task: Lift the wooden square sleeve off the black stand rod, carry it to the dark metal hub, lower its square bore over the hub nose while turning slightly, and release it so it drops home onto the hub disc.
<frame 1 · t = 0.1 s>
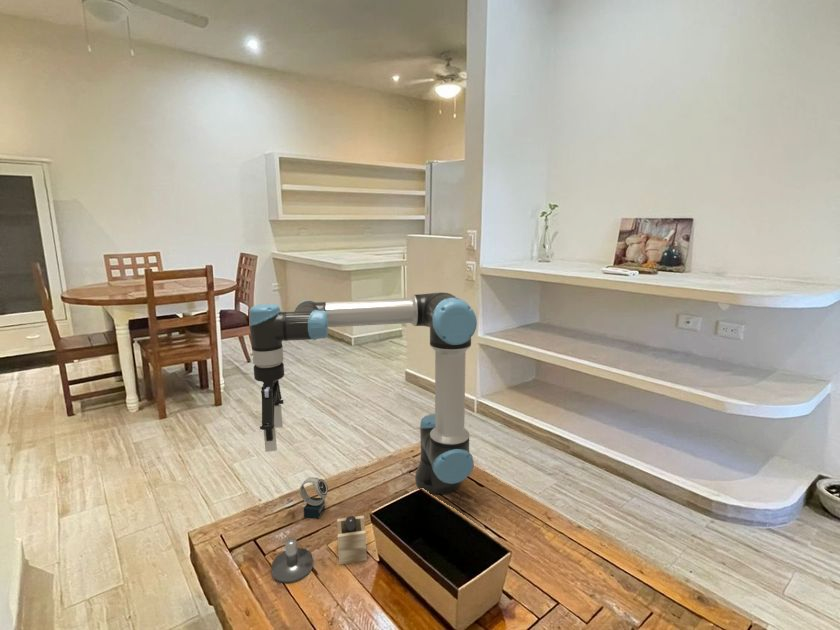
hand: (274, 438, 120), 28 cm above the table, fingers open, 13 cm apart
hub: (292, 567, 111), on the table
stand: (352, 552, 116), on the table
wooden square sleeve: (352, 552, 116), on the table
watch: (315, 513, 132), on the table
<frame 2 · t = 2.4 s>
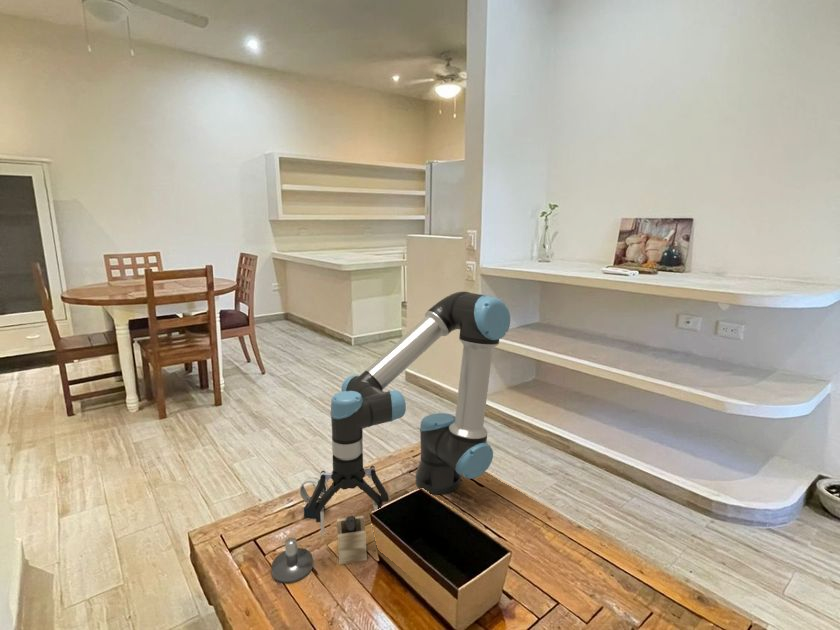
hand: (349, 528, 114), 7 cm above the table, fingers open, 13 cm apart
nothing on the table moved.
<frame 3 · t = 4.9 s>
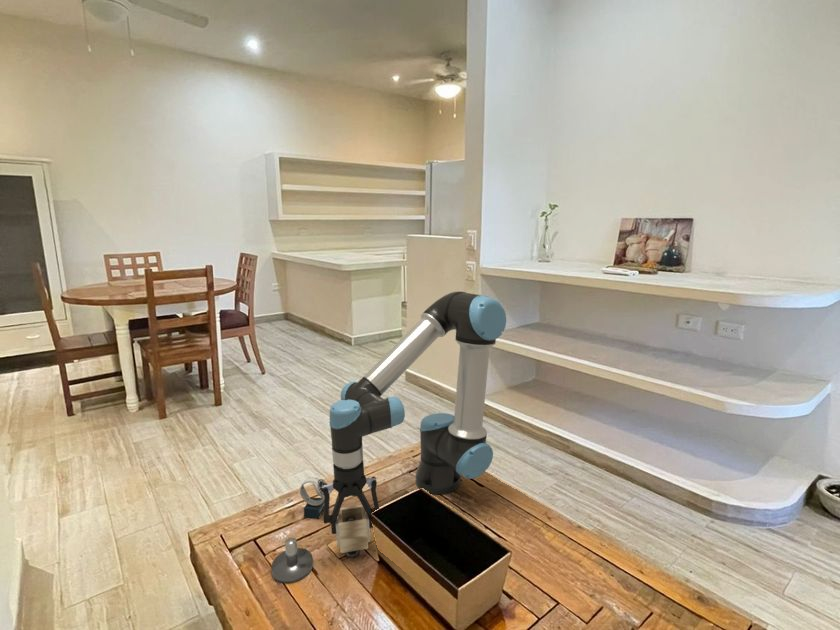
hand: (353, 540, 116), 3 cm above the table, fingers closed on wooden square sleeve, 7 cm apart
wooden square sleeve: (353, 541, 116), point 3 cm above the table, touching gripper
everything else where it was.
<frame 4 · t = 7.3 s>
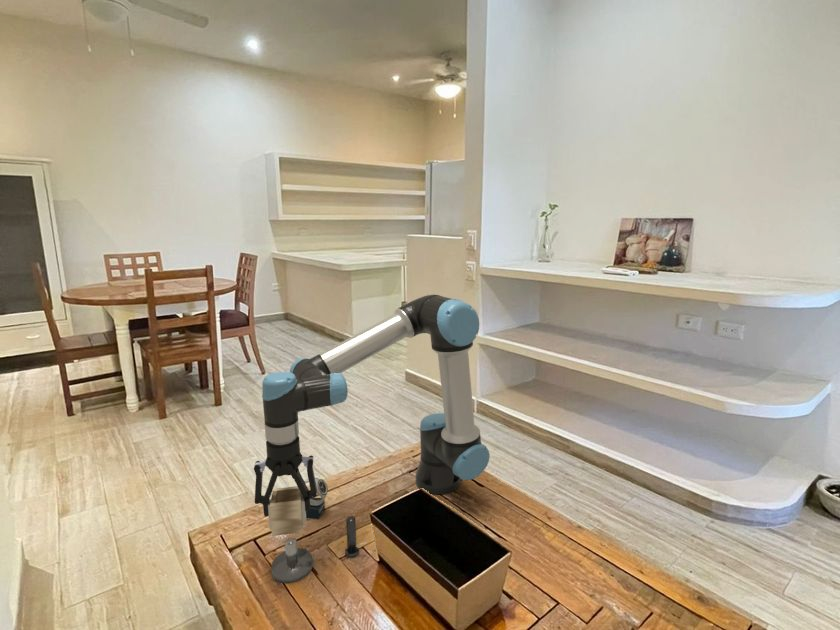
hand: (288, 523, 108), 13 cm above the table, fingers closed on wooden square sleeve, 7 cm apart
wooden square sleeve: (288, 524, 109), point 12 cm above the table, touching gripper
everything else where it was.
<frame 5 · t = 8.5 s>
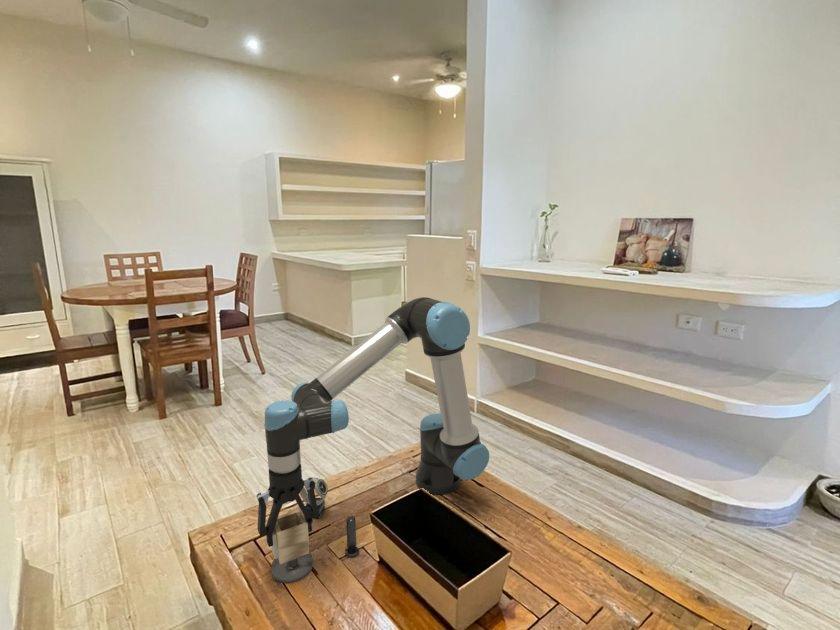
hand: (290, 549, 110), 5 cm above the table, fingers closed on wooden square sleeve, 7 cm apart
wooden square sleeve: (290, 549, 110), point 5 cm above the table, touching gripper
everything else where it was.
when the fingers open (4 cm above the table, at t = 9.6 s): wooden square sleeve drops 2 cm, resting on hub.
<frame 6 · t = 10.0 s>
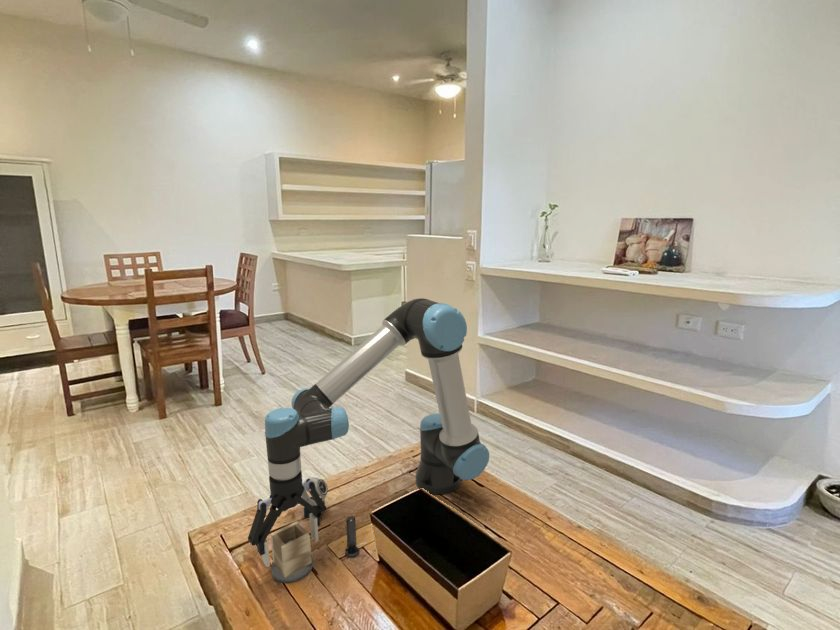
hand: (291, 550, 110), 5 cm above the table, fingers open, 12 cm apart
wooden square sleeve: (292, 562, 111), point 1 cm above the table, touching hub
everything else where it was.
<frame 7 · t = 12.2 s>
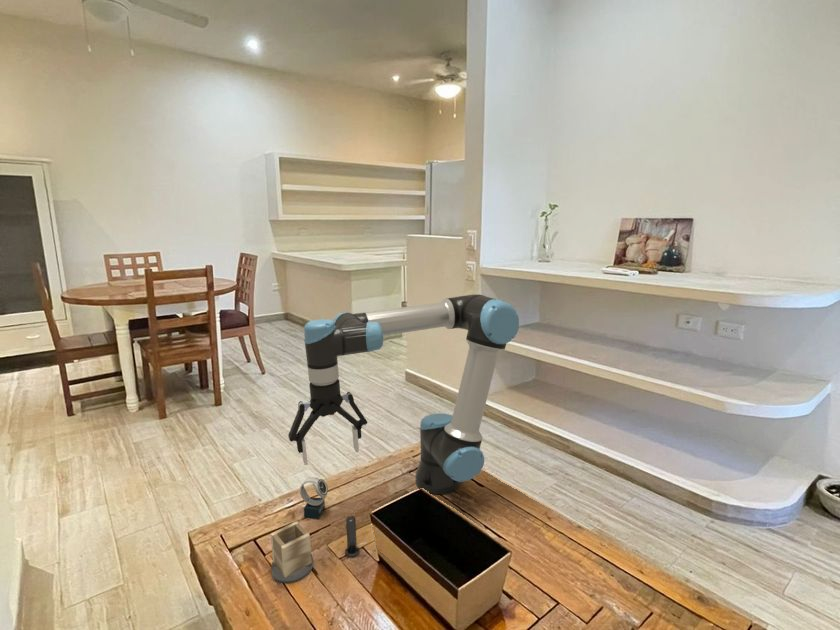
hand: (331, 456, 117), 25 cm above the table, fingers open, 13 cm apart
nothing on the table moved.
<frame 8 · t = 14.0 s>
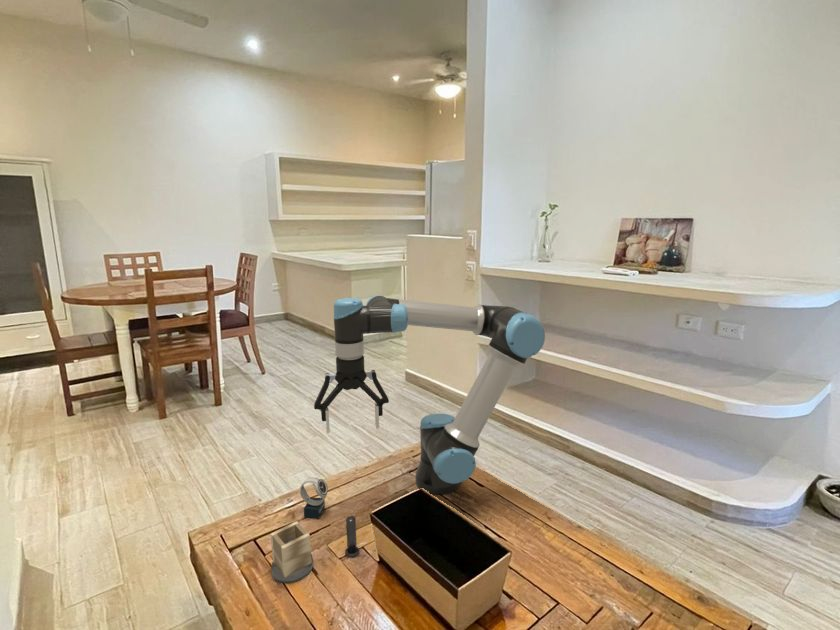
hand: (353, 428, 123), 29 cm above the table, fingers open, 13 cm apart
nothing on the table moved.
at the end: wooden square sleeve 0.0 cm from the hub (horizontally); wooden square sleeve point 1.5 cm above the table; the gripper is holding nothing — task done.
